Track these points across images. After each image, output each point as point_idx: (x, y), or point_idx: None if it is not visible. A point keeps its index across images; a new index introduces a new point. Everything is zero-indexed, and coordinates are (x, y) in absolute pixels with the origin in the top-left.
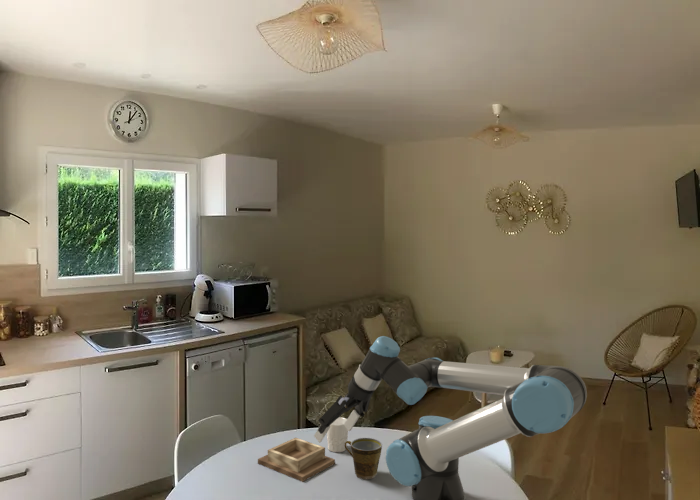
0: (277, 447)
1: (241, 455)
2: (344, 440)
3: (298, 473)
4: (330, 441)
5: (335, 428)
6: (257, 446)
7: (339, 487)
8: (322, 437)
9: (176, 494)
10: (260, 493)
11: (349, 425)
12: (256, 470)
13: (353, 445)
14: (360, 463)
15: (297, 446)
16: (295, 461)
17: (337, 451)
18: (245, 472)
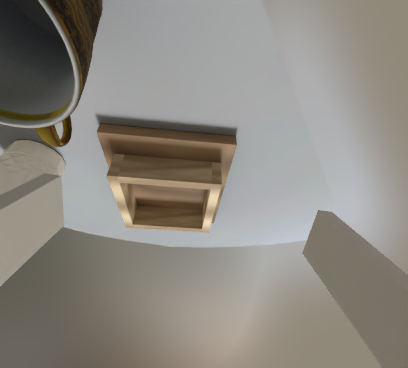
0: (187, 228)
1: (204, 235)
2: (12, 161)
3: (224, 159)
4: None
5: None
6: (165, 235)
7: (210, 27)
8: (359, 236)
9: None
10: (317, 170)
11: (41, 208)
12: (235, 208)
13: (40, 109)
14: (82, 3)
15: (135, 209)
16: (220, 187)
17: (50, 149)
18: (250, 214)
